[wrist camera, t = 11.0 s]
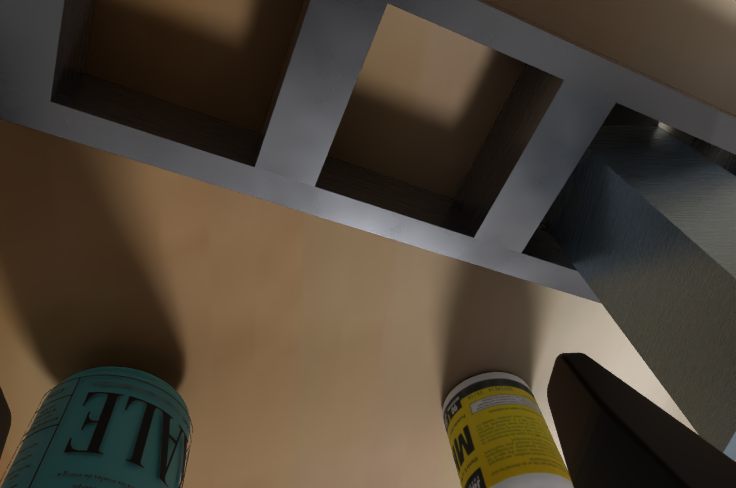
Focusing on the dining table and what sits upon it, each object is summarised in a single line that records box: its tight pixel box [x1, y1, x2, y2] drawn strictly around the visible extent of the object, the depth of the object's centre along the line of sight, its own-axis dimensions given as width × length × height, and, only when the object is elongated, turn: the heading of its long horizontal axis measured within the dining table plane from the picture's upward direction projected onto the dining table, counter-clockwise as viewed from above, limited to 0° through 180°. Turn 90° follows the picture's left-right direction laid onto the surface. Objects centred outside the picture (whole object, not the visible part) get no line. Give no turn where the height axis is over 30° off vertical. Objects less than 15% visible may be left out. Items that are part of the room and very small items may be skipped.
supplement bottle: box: [443, 372, 574, 488], centre depth 26 cm, size 5×5×8 cm
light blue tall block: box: [541, 125, 736, 460], centre depth 18 cm, size 4×4×12 cm
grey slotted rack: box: [0, 0, 736, 303], centre depth 19 cm, size 26×8×3 cm, turn 67°
